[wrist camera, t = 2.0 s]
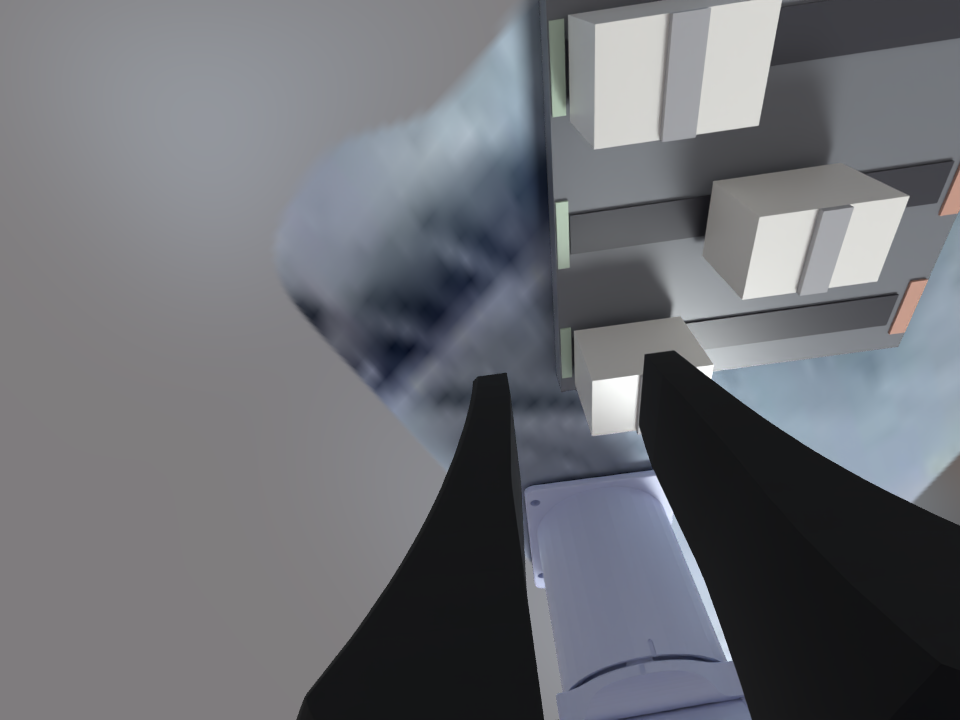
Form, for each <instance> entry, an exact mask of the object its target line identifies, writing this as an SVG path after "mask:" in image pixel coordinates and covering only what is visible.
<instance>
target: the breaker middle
mask: <svg viewBox="0 0 960 720" xmlns="http://www.w3.org/2000/svg"><path fill="white" fill-rule="evenodd" d="M909 197H910V196H909V195H907V194H905V193H903V192H901V191H898V190H896V189H894V188H892V187H890V186H888V185H886V184H884V183H882V182H880V181H878V180H876V179H874V178H871V177H869V176H867V175H865V174H863V173H861V172H859V171H857V170H855V169H853V168H851V167H849V166H847V165H844V164H842V163H836V164H829V165H822V166H815V167H808V168H802V169H795V170H788V171H781V172H774V173H767V174H760V175H753V176H746V177H739V178H732V179H725V180H718V181H713V186H712V193H711V200H710V207H709V214H708V220H707V227H706V234H705V241H704V248H703V255H702V256H703V257H704V258H705V260H706V261H707V262H708V263H709V264H710V265H711V266H712V267H713V268H714V269H715V270H716V272H717V273H718V274H719V275H720V276H721V277H722V278H723V279H724V280H725V281H726V283H727V284H728V285H729V286H730V287H731V288H732V289H733V290H734V291H735V292H736V293H737V295H738V296H739V297H740V298H741V299H742V300H745V299H753V298H760V297H767V296H774V295H782V294H789V293H797V294H798V295H799V296H803V295H810V294H817V293H824V292H827V291H828V288H833V287H840V286H847V285H855V284H862V283H869V282H877V281H878V278H879V275H880V273H881V270H882V268H883V265H884V262H885V260H886V257H887V254H888V252H889V249H890V247H891V244H892V241H893V239H894V236H895V233H896V231H897V228H898V226H899V223H900V220H901V218H902V215H903V212H904V210H905V207H906V205H907V202H908V199H909Z"/></svg>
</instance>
